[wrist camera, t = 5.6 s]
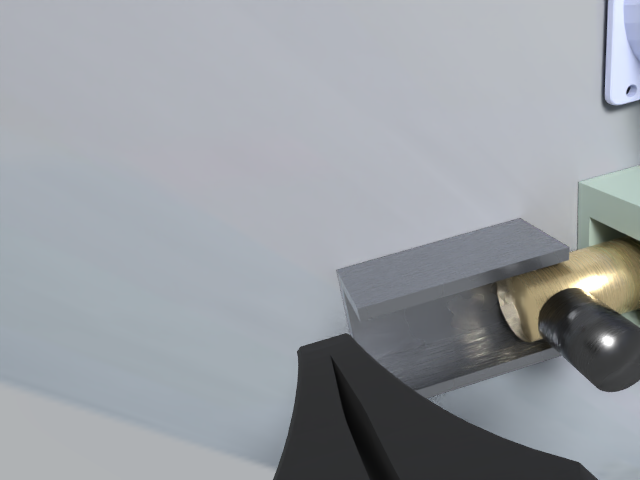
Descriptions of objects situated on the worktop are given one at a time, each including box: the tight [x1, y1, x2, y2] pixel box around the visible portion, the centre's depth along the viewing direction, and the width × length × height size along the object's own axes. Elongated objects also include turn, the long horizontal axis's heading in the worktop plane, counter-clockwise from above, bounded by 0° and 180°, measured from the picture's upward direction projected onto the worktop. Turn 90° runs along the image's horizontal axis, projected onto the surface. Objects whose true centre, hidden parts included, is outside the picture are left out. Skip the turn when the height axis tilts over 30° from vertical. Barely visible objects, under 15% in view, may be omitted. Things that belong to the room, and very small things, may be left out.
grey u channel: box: [336, 218, 569, 398], centre depth 22 cm, size 9×5×4 cm, turn 102°
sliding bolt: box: [497, 235, 640, 392], centre depth 21 cm, size 9×3×6 cm, turn 102°
